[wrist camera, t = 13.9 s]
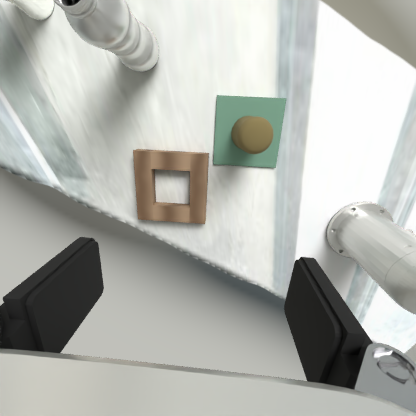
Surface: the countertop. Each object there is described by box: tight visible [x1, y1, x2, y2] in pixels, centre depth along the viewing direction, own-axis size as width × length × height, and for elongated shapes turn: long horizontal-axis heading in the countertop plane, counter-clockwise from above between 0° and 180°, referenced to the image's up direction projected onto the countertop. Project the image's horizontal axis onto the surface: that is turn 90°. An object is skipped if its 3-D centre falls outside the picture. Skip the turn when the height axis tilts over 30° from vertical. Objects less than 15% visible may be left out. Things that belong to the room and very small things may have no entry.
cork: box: [231, 116, 274, 154], centre depth 36 cm, size 6×6×11 cm
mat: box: [213, 95, 286, 168], centre depth 41 cm, size 12×12×1 cm
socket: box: [133, 149, 209, 224], centre depth 45 cm, size 14×14×2 cm
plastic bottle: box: [53, 0, 159, 72], centre depth 28 cm, size 6×7×20 cm
